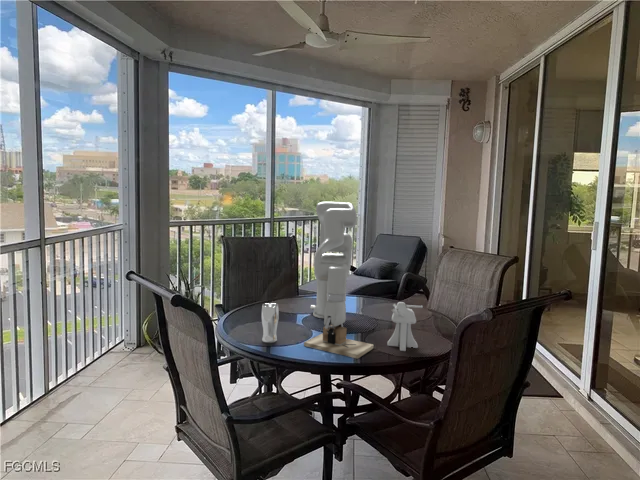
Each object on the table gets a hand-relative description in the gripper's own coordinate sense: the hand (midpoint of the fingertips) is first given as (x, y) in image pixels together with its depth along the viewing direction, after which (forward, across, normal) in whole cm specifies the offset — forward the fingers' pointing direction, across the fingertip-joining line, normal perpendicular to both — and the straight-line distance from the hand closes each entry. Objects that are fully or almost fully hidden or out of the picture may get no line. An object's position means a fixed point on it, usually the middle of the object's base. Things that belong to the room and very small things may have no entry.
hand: (334, 340), depth 177 cm
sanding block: (+1, 0, 0) cm, 1 cm away
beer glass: (+2, +10, -25) cm, 27 cm away
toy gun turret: (+2, -17, +23) cm, 29 cm away
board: (+2, 0, +2) cm, 3 cm away
